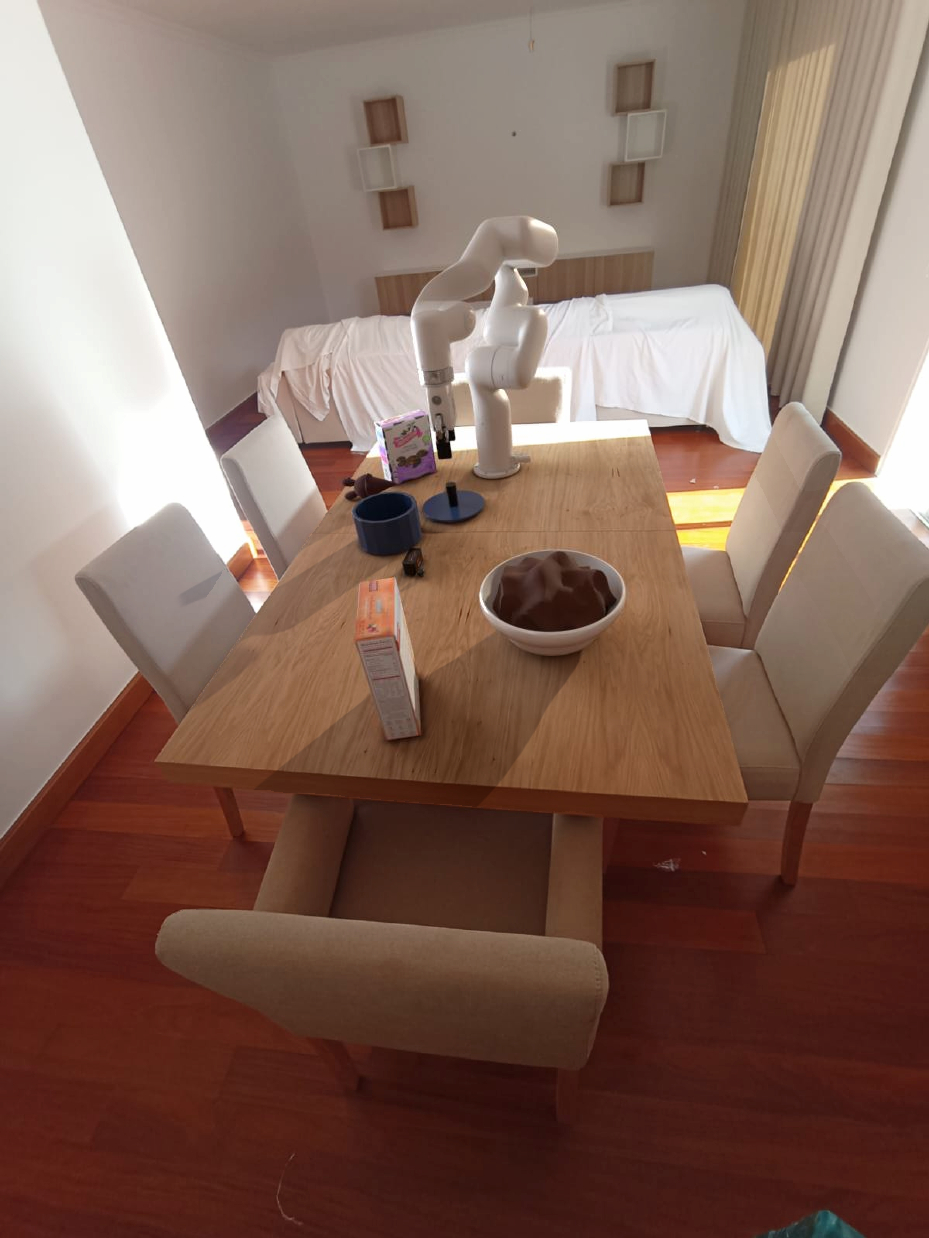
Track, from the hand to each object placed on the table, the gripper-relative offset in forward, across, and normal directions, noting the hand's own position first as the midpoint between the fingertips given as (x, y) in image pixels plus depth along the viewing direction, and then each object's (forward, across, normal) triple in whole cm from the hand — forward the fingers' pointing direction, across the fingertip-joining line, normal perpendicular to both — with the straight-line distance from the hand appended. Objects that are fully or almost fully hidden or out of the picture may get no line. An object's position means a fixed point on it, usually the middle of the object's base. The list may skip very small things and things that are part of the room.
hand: (447, 449), depth 140 cm
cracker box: (+14, -68, +3) cm, 69 cm away
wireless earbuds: (+15, -28, +6) cm, 32 cm away
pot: (+15, -14, +14) cm, 25 cm away
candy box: (+16, +20, +14) cm, 30 cm away
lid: (+15, -1, 0) cm, 15 cm away
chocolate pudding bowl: (+15, -50, -22) cm, 56 cm away
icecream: (+16, +8, +23) cm, 29 cm away
